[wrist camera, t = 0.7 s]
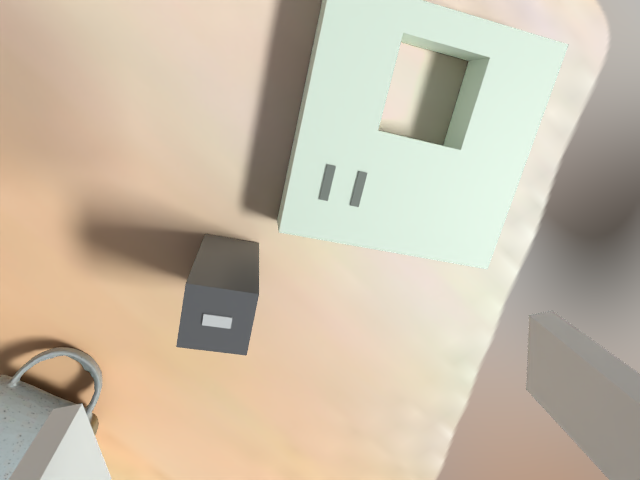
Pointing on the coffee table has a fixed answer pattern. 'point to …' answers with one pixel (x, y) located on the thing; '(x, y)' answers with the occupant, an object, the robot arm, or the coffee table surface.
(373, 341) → the coffee table surface
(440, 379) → the coffee table surface
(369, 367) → the coffee table surface
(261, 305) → the coffee table surface
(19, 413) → the ceramic mug
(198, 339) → the charger block
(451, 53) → the outlet plate
